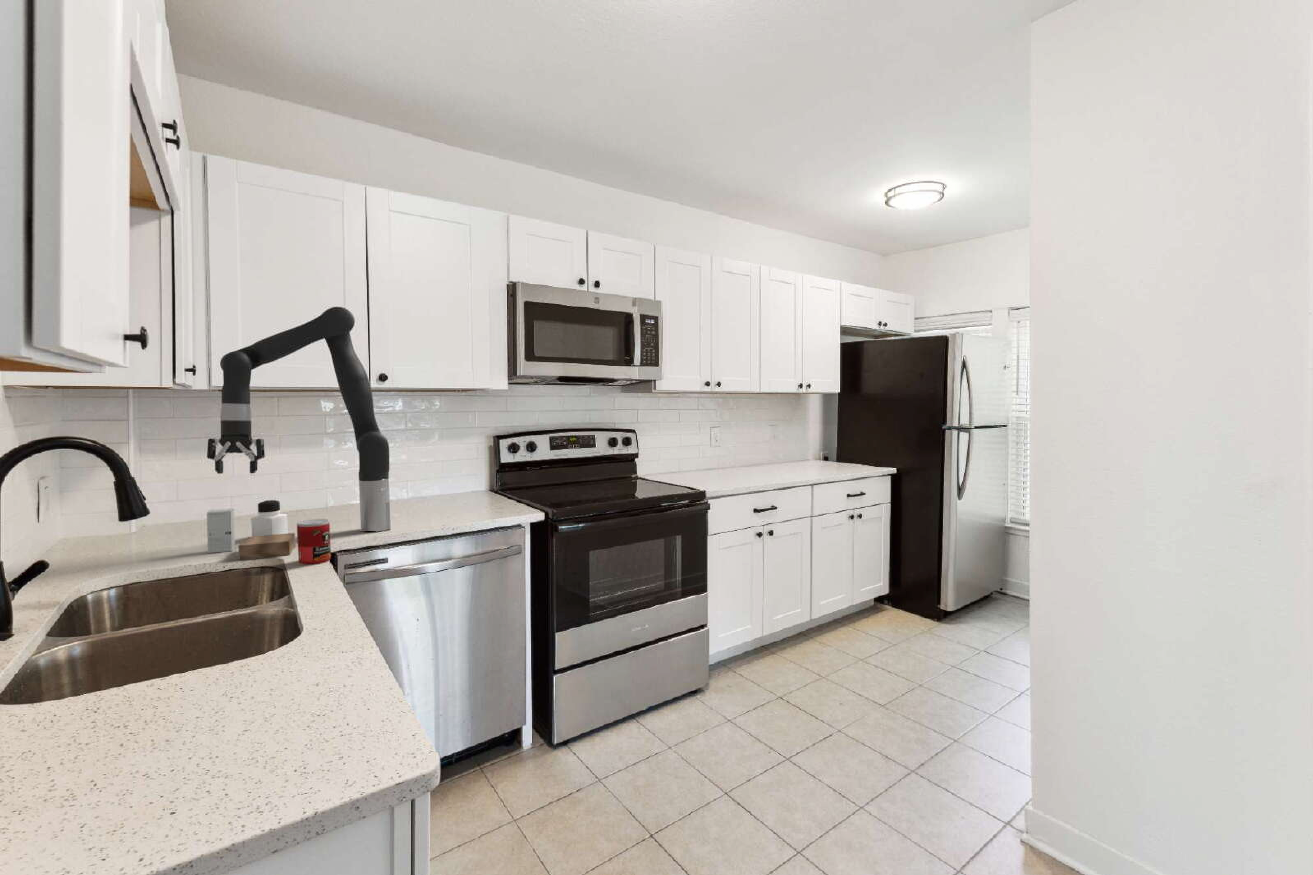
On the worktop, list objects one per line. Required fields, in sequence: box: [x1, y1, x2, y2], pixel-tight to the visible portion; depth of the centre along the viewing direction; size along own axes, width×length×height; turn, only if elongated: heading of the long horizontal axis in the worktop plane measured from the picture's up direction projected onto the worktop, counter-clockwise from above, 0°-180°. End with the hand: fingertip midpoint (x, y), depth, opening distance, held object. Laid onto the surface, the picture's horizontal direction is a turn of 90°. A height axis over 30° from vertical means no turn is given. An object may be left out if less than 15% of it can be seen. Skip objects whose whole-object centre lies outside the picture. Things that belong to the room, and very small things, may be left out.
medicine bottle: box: [250, 499, 289, 537], centre depth 194 cm, size 7×7×12 cm
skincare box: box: [206, 508, 236, 554], centre depth 177 cm, size 6×4×12 cm
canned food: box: [296, 518, 332, 566], centre depth 164 cm, size 8×8×11 cm
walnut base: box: [238, 532, 296, 561], centre depth 174 cm, size 12×12×4 cm
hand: (236, 473), depth 179 cm, fingers open, 8 cm apart
